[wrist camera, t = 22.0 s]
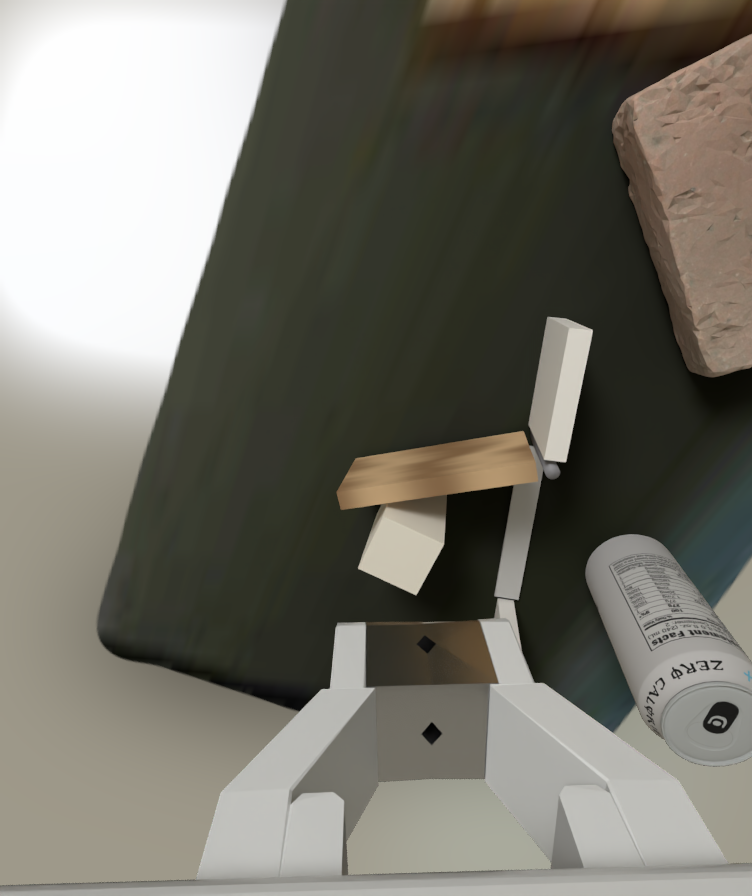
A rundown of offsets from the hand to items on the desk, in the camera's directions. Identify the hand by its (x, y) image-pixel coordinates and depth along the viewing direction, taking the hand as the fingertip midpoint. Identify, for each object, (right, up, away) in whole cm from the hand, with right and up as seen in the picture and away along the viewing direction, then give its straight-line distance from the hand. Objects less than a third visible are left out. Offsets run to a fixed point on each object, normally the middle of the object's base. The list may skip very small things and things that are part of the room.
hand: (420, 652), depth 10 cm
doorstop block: (+2, -1, +31) cm, 31 cm away
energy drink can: (+18, -5, +30) cm, 35 cm away
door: (+4, +3, +29) cm, 30 cm away
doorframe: (+10, -1, +30) cm, 32 cm away
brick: (+20, +17, +23) cm, 35 cm away
